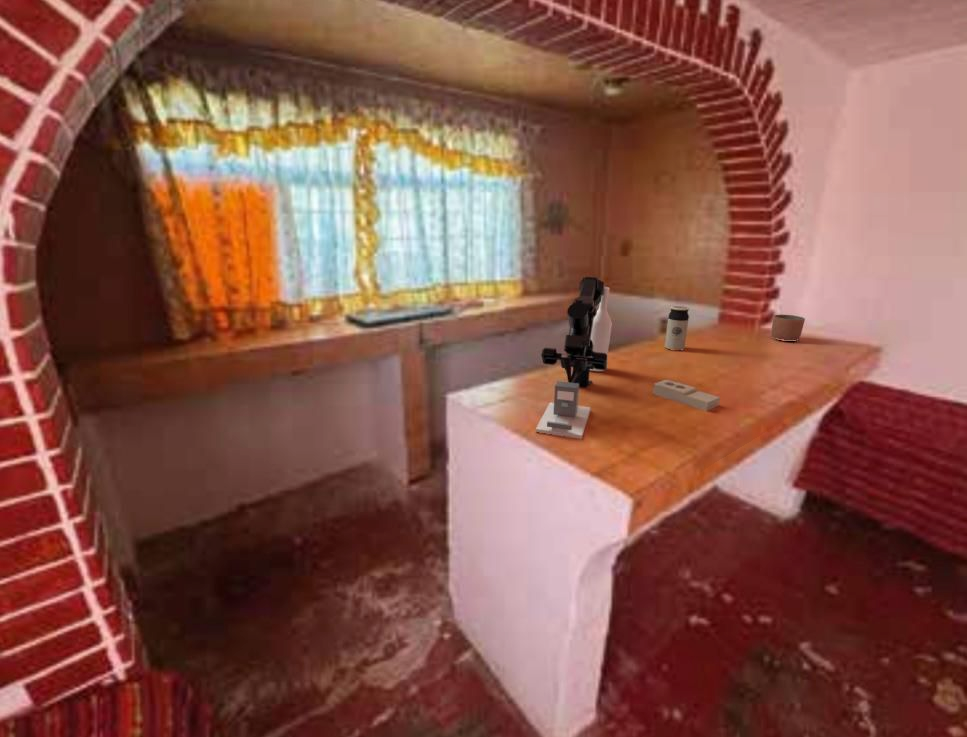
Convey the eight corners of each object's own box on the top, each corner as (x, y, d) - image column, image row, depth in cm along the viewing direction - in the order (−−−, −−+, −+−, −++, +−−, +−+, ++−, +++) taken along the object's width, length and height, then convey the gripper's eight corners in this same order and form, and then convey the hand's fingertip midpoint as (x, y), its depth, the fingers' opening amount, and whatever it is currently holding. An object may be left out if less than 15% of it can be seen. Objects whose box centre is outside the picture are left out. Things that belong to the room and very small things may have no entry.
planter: (799, 344, 218) (804, 321, 214) (768, 341, 224) (772, 317, 221) (800, 339, 228) (805, 316, 224) (770, 335, 234) (774, 313, 231)
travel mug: (667, 345, 215) (672, 305, 209) (686, 348, 210) (692, 307, 205) (662, 349, 209) (667, 307, 203) (681, 352, 204) (687, 310, 199)
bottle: (578, 365, 182) (590, 285, 175) (596, 365, 186) (608, 286, 178) (591, 371, 175) (603, 288, 167) (609, 371, 178) (622, 289, 171)
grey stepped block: (708, 399, 142) (654, 383, 155) (706, 412, 143) (652, 394, 157) (720, 394, 146) (666, 378, 160) (718, 406, 147) (665, 390, 161)
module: (556, 409, 138) (557, 381, 136) (577, 412, 137) (579, 383, 134) (553, 415, 134) (554, 386, 132) (574, 418, 132) (576, 388, 130)
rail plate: (549, 405, 146) (550, 396, 145) (590, 410, 143) (591, 401, 142) (535, 432, 128) (536, 421, 127) (581, 439, 124) (582, 428, 124)
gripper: (544, 320, 141) (534, 367, 134) (610, 325, 135) (603, 374, 129) (547, 340, 150) (538, 385, 144) (609, 346, 145) (603, 392, 138)
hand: (569, 384), depth 138 cm, fingers closed
